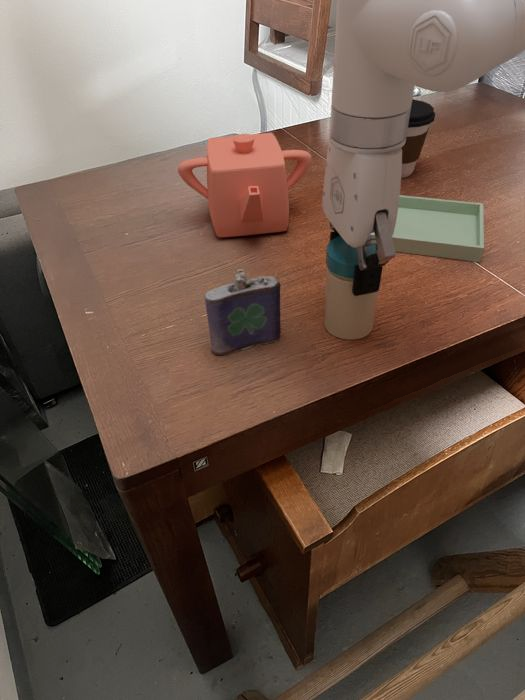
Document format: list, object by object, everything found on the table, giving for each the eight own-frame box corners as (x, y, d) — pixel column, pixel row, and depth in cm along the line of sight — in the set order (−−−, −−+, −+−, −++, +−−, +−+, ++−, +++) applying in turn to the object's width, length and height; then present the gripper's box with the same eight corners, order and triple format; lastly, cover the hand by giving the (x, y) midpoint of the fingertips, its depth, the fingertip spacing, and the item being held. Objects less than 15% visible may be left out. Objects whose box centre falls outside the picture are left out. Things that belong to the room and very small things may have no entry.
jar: (376, 311, 68) (386, 243, 61) (369, 343, 64) (379, 274, 57) (329, 304, 70) (332, 237, 63) (318, 335, 66) (321, 266, 58)
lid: (317, 252, 62) (318, 239, 61) (368, 243, 63) (370, 229, 62) (338, 283, 58) (339, 269, 56) (392, 272, 59) (395, 258, 57)
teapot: (185, 202, 94) (173, 125, 84) (302, 191, 95) (303, 114, 85) (186, 261, 79) (172, 176, 70) (324, 248, 81) (329, 162, 71)
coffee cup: (398, 189, 94) (409, 123, 86) (356, 170, 101) (362, 107, 92) (436, 172, 99) (449, 107, 91) (393, 155, 105) (402, 93, 97)
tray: (479, 216, 86) (483, 203, 84) (479, 262, 76) (484, 248, 74) (366, 204, 90) (367, 191, 89) (353, 246, 81) (354, 232, 79)
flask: (214, 358, 63) (204, 289, 56) (209, 343, 65) (198, 275, 58) (283, 340, 65) (283, 271, 58) (276, 326, 67) (274, 258, 60)
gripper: (303, 101, 55) (300, 244, 67) (370, 165, 43) (351, 325, 55) (367, 93, 56) (353, 234, 68) (449, 153, 44) (414, 311, 56)
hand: (352, 273), depth 62 cm, fingers closed on lid, 6 cm apart
